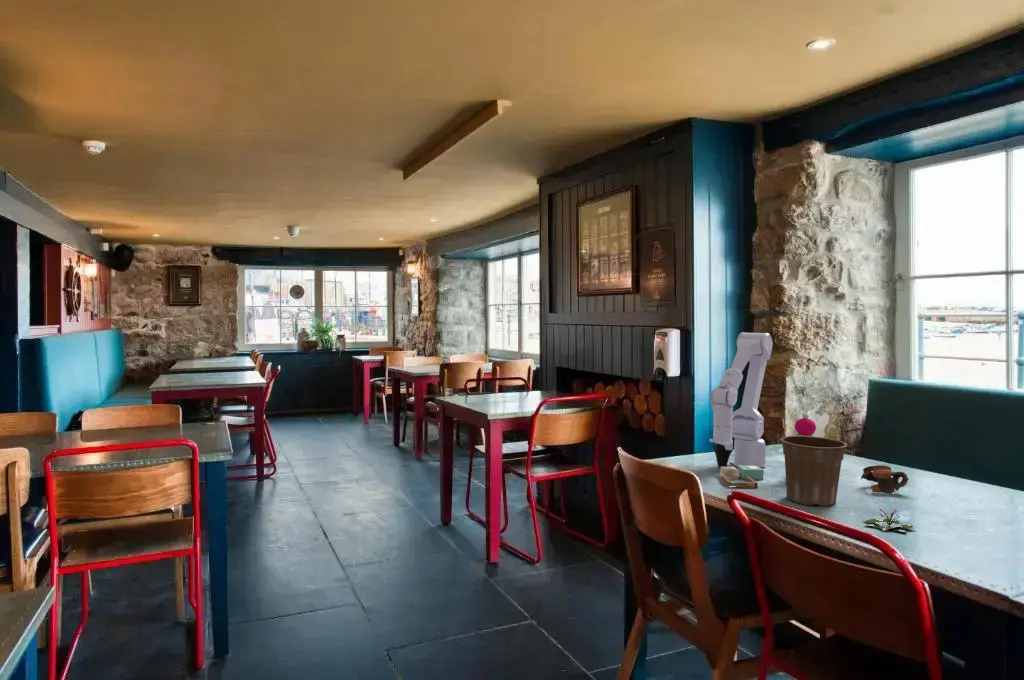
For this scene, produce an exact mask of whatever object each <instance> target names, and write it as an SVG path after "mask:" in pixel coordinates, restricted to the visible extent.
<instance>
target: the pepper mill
mask: <svg viewBox="0 0 1024 680" xmlns="http://www.w3.org/2000/svg"><path fill="white" fill-rule="evenodd" d="M794 423H795V424H794V431H795V432H796V434H795V436H810V437H815V435H814V433H815V432H816V431H817V425H816V423H815V421H814V420H812V419H810V417H809V414H808V413H806V412H804V413H803V414H802V418H799V419H797V420H796V421H795V422H794Z"/></svg>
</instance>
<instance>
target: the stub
mask: <svg viewBox="0 0 1024 680" xmlns="http://www.w3.org/2000/svg"><path fill="white" fill-rule="evenodd" d="M719 470H720V473H719V474H720V475H721V476H724V477H726V478H727V479H728V480H738V479H739V480H740V476H739V470H738V469H737V468H736V466H727V467H721V469H719ZM721 476H720V477H721Z"/></svg>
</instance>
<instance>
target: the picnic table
mask: <svg viewBox="0 0 1024 680" xmlns="http://www.w3.org/2000/svg"><path fill="white" fill-rule="evenodd" d="M721 480H722V481H723V482H724V483H725V484H727V485H728V486H736V487H743V488H742V489H758V488H759V487H758V484H759V483H758V481H756V480H753V479H751V478H750V477H749V476H746V479H745V480H744V481H731V480H730V479H727V478H726V477H724V476H720V481H721ZM722 481H721V482H722ZM723 482H722V483H723ZM724 483H723V484H724ZM725 484H724V485H725ZM728 486H727V487H728Z"/></svg>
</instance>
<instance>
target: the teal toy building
mask: <svg viewBox="0 0 1024 680" xmlns="http://www.w3.org/2000/svg"><path fill="white" fill-rule="evenodd" d="M736 469H738V470H739V478H741V479H742V480H743V479H746V476H749V477H750V478H751V479H753V480H754V481H756V480H758V481H759V480H761V481H762V480H764V479H765V477H764V475H765V474H764V473H765V472H764V469H763V467H759V466H757V465H738V466H737V468H736Z"/></svg>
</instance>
